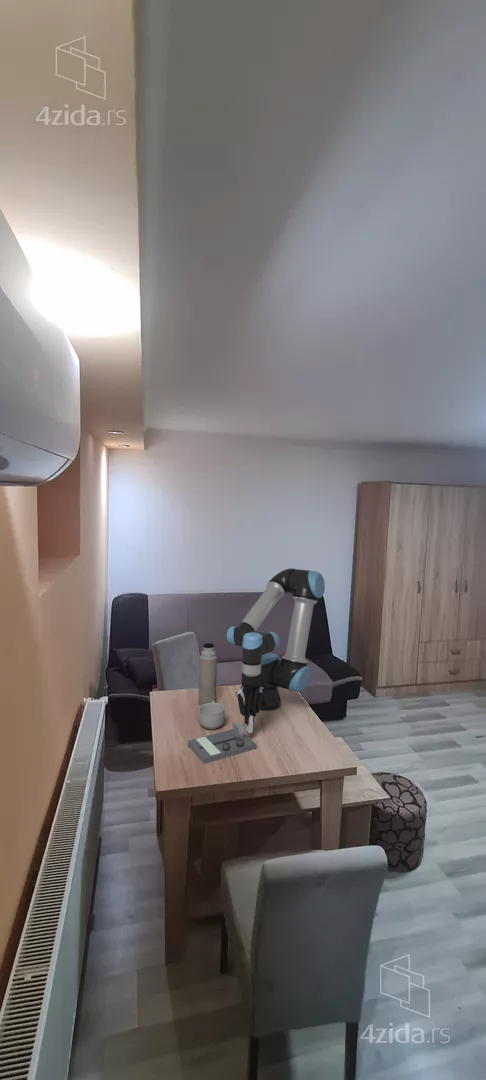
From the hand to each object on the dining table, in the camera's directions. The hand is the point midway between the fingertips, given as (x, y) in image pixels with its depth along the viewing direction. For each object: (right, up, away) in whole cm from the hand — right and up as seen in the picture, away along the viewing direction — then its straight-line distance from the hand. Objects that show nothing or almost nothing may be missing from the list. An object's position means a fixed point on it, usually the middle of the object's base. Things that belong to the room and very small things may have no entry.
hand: (249, 731), depth 182 cm
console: (-10, -4, -6) cm, 13 cm away
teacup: (-15, -2, +12) cm, 20 cm away
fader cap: (-4, -2, -2) cm, 5 cm away
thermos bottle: (-19, -1, +32) cm, 37 cm away
